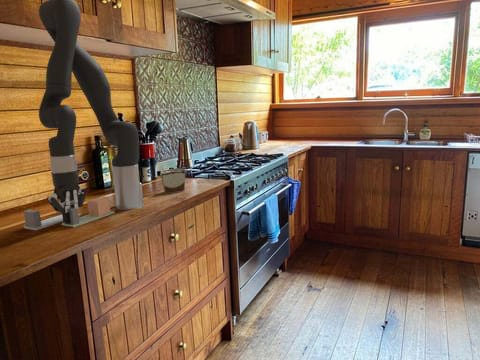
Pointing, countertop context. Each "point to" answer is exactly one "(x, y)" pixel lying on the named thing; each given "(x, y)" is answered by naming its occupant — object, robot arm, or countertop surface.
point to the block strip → (82, 218)
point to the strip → (49, 222)
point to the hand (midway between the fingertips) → (71, 222)
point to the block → (98, 206)
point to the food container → (173, 180)
